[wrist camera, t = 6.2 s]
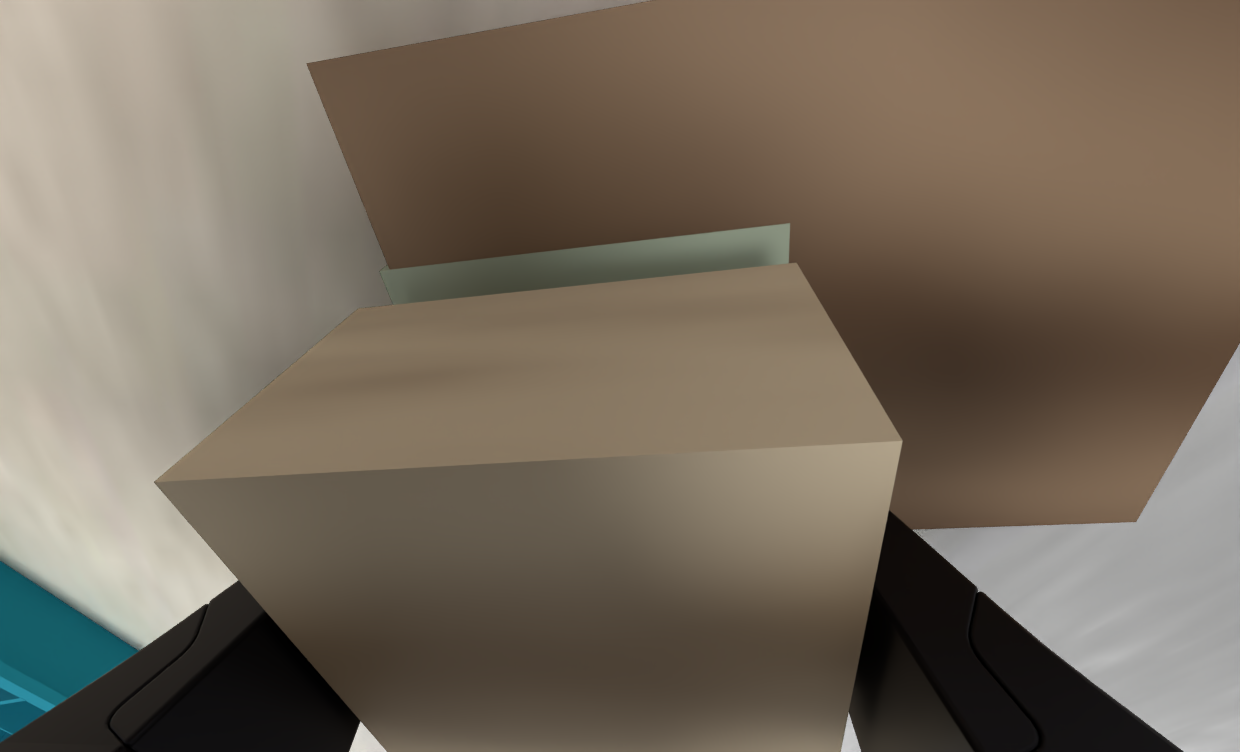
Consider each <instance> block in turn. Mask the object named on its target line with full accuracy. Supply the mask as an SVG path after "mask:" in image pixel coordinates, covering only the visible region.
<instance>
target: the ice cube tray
mask: <svg viewBox="0 0 1240 752" xmlns="http://www.w3.org/2000/svg"><path fill="white" fill-rule="evenodd" d="M137 652H138V650H136V649H135V648H133V647H132V646H130V645H129V644H127V643H125V642H124V641H122V640H121V639H119V638H118V637H116V636H115V635H113V634H112V633H110V632H109V631H107V630H106V629H104V628H102V627H101V626H99V625H98V624H96V623H95V622H93V621H92V620H90V619H89V618H87V617H86V616H84V615H82V614H81V613H79V612H78V611H76V610H75V609H73V608H72V607H70V606H69V605H67V604H66V603H64V602H63V601H61V600H59V599H58V598H56V597H55V596H53V595H52V594H50V593H49V592H47V591H46V590H44V589H43V588H41V587H40V586H38V585H36V584H35V583H33V582H32V581H30V580H29V579H27V578H26V577H24V576H23V575H21V574H20V573H18V572H16V571H15V570H13V569H12V568H10V567H9V566H7V565H6V564H4V563H3V562H1V561H0V742H2V741H3V740H5V739H6V738H8V737H9V736H11V735H12V734H14V733H15V732H17V731H18V730H20V729H22V728H23V727H25V726H26V725H28V724H29V723H31V722H32V721H34V720H35V719H37V718H38V717H40V716H41V715H43V714H44V713H46V712H47V711H49V710H51V709H52V708H54V707H55V706H57V705H58V704H60V703H61V702H63V701H64V700H66V699H67V698H69V697H70V696H72V695H73V694H75V693H77V692H78V691H80V690H81V689H83V688H84V687H86V686H87V685H89V684H90V683H92V682H93V681H95V680H96V679H98V678H99V677H101V676H102V675H104V674H105V673H107V672H108V671H110V670H111V669H113V668H114V667H116V666H117V665H119V664H120V663H122V662H123V661H125V660H126V659H128V658H129V657H131V656H132V655H134V654H135V653H137Z"/></svg>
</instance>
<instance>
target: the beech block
mask: <svg viewBox="0 0 1240 752" xmlns="http://www.w3.org/2000/svg"><path fill="white" fill-rule="evenodd" d="M902 442H903V441H902V439H901V437H900V436H899V434H898V432H897V431H896V429H895V427H894V426H893V424H892V422H891V420H890V419H889V417H888V415H887V414H886V412H885V410H884V409H883V407H882V405H881V404H880V402H879V400H878V399H877V397H876V395H875V394H874V392H873V390H872V389H871V387H870V385H869V384H868V382H867V380H866V378H865V377H864V375H863V373H862V372H861V370H860V368H859V367H858V365H857V363H856V362H855V360H854V358H853V357H852V355H851V353H850V352H849V350H848V348H847V347H846V345H845V343H844V342H843V340H842V338H841V336H840V335H839V333H838V331H837V330H836V328H835V326H834V325H833V323H832V321H831V320H830V318H829V316H828V315H827V313H826V311H825V310H824V308H823V306H822V305H821V303H820V301H819V299H818V298H817V296H816V294H815V293H814V291H813V289H812V288H811V286H810V284H809V283H808V281H807V279H806V278H805V276H804V274H803V273H802V271H801V269H800V268H799V266H798V264H797V263H788V264H779V265H769V266H760V267H750V268H741V269H731V270H721V271H712V272H702V273H693V274H683V275H674V276H664V277H655V278H645V279H636V280H626V281H617V282H607V283H597V284H588V285H578V286H569V287H559V288H550V289H540V290H531V291H521V292H512V293H502V294H493V295H483V296H473V297H464V298H454V299H445V300H435V301H426V302H416V303H407V304H397V305H388V306H378V307H368V308H359V309H357V310H356V311H355V312H354V313H352V314H351V315H350V316H349V317H348V318H346V319H345V320H344V321H343V322H342V323H341V324H339V325H338V326H337V327H336V328H335V329H334V330H332V331H331V332H330V333H329V334H328V335H326V336H325V337H324V338H323V339H322V340H321V341H319V342H318V343H317V344H316V345H315V346H314V347H312V348H311V349H310V350H309V351H308V352H306V353H305V354H304V355H303V356H302V357H301V358H299V359H298V360H297V361H296V362H295V363H293V364H292V365H291V366H290V367H289V368H288V369H286V370H285V371H284V372H283V373H282V374H281V375H279V376H278V377H277V378H276V379H275V380H273V381H272V382H271V383H270V384H269V385H268V386H266V387H265V388H264V389H263V390H262V391H261V392H259V393H258V394H257V395H256V396H255V397H253V398H252V399H251V400H250V401H249V402H248V403H246V404H245V405H244V406H243V407H242V408H241V409H239V410H238V411H237V412H236V413H235V414H233V415H232V416H231V417H230V418H229V419H228V420H226V421H225V422H224V423H223V424H222V425H221V426H219V427H218V428H217V429H216V430H215V431H213V432H212V433H211V434H210V435H209V436H208V437H206V438H205V439H204V440H203V441H202V442H201V443H199V444H198V445H197V446H196V447H195V448H193V449H192V450H191V451H190V452H189V453H188V454H186V455H185V456H184V457H183V458H182V459H181V460H179V461H178V462H177V463H176V464H175V465H173V466H172V467H171V468H170V469H169V470H168V471H166V472H165V473H164V474H163V475H162V476H160V477H159V478H158V479H157V480H156V481H155V482H154V483H155V484H156V485H157V486H158V487H159V489H160V490H161V491H162V492H163V493H164V494H165V496H166V497H167V498H168V499H169V500H170V501H171V503H172V504H173V505H174V506H175V507H176V508H177V509H178V511H179V512H180V513H181V514H182V515H183V516H184V518H185V519H186V520H187V521H188V522H189V523H190V524H191V526H192V527H193V528H194V529H195V530H196V531H197V533H198V534H199V535H200V536H201V537H202V538H203V539H204V541H205V542H206V543H207V544H208V545H209V546H210V548H211V549H212V550H213V551H214V552H215V553H216V555H217V556H218V557H219V558H220V559H221V560H222V561H223V563H224V564H225V565H226V566H227V567H228V568H229V570H230V571H231V572H232V573H233V574H234V575H235V576H236V578H237V579H238V580H239V581H240V582H241V583H242V585H243V586H244V587H245V588H246V589H247V590H248V591H249V593H250V594H251V595H252V596H253V597H254V598H255V600H256V601H257V602H258V603H259V604H260V605H261V606H262V608H263V609H264V610H265V611H266V612H267V613H268V615H269V616H270V617H271V618H272V619H273V620H274V622H275V623H276V624H277V625H278V626H279V627H280V628H281V630H282V631H283V632H284V633H285V634H286V635H287V637H288V638H289V639H290V640H291V641H292V642H293V643H294V645H295V646H296V647H297V648H298V649H299V650H300V652H301V653H302V654H303V655H304V656H305V657H306V658H307V660H308V661H309V662H310V663H311V664H312V665H313V667H314V668H315V669H316V670H317V671H318V672H319V674H320V675H321V676H322V677H323V678H324V679H325V680H326V682H327V683H328V684H329V685H330V686H331V687H332V689H333V690H334V691H335V692H336V693H337V694H338V695H339V697H340V698H341V699H342V700H343V701H344V702H345V704H346V705H347V706H348V707H349V708H350V709H351V710H352V712H353V713H354V714H355V715H356V716H357V717H358V719H359V720H360V721H361V722H362V723H363V724H364V726H365V727H366V728H367V729H368V730H369V731H370V732H371V734H372V735H373V736H374V737H375V738H376V739H377V741H378V742H379V743H380V744H381V745H382V746H383V747H384V749H385V750H386V751H387V752H841V747H842V742H843V737H844V732H845V727H846V722H847V717H848V712H849V707H850V702H851V697H852V692H853V687H854V682H855V677H856V672H857V667H858V662H859V657H860V652H861V647H862V642H863V637H864V632H865V627H866V622H867V617H868V612H869V607H870V602H871V597H872V592H873V587H874V582H875V577H876V572H877V567H878V562H879V557H880V552H881V547H882V542H883V537H884V532H885V527H886V522H887V517H888V512H889V507H890V502H891V497H892V492H893V487H894V482H895V477H896V472H897V467H898V462H899V457H900V452H901V447H902Z"/></svg>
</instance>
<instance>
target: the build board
mask: <svg viewBox="0 0 1240 752" xmlns="http://www.w3.org/2000/svg"><path fill="white" fill-rule="evenodd" d="M307 66H308V69H309V71H310V74H311V76H312V79H313V81H314V83H315V86H316V88H317V91H318V93H319V96H320V98H321V101H322V103H323V106H324V108H325V111H326V113H327V116H328V118H329V121H330V123H331V126H332V128H333V131H334V133H335V136H336V138H337V140H338V143H339V145H340V148H341V150H342V153H343V155H344V158H345V160H346V163H347V165H348V168H349V170H350V173H351V175H352V178H353V180H354V183H355V185H356V188H357V190H358V193H359V195H360V197H361V200H362V202H363V205H364V207H365V210H366V212H367V215H368V217H369V220H370V222H371V225H372V227H373V230H374V232H375V235H376V237H377V240H378V242H379V245H380V247H381V250H382V252H383V254H384V257H385V259H386V262H387V264H388V265H387V266H385V267H384V268H383V269H381V270H380V271H379V272H380V274H381V277H382V279H383V282H384V284H385V286H386V289H387V291H388V294H389V296H390V298H391V301H392V303H393V305H397V304H407V303H416V302H426V301H435V300H445V299H454V298H464V297H473V296H483V295H493V294H502V293H512V292H521V291H531V290H540V289H550V288H559V287H569V286H578V285H588V284H597V283H607V282H617V281H626V280H636V279H645V278H655V277H664V276H674V275H683V274H693V273H702V272H712V271H721V270H731V269H741V268H750V267H760V266H769V265H779V264H788V263H797V264H798V266H799V268H800V269H801V271H802V273H803V274H804V276H805V278H806V279H807V281H808V283H809V284H810V286H811V288H812V289H813V291H814V293H815V294H816V296H817V298H818V299H819V301H820V303H821V305H822V306H823V308H824V310H825V311H826V313H827V315H828V316H829V318H830V320H831V321H832V323H833V325H834V326H835V328H836V330H837V331H838V333H839V335H840V336H841V338H842V340H843V342H844V343H845V345H846V347H847V348H848V350H849V352H850V353H851V355H852V357H853V358H854V360H855V362H856V363H857V365H858V367H859V368H860V370H861V372H862V373H863V375H864V377H865V378H866V380H867V382H868V384H869V385H870V387H871V389H872V390H873V392H874V394H875V395H876V397H877V399H878V400H879V402H880V404H881V405H882V407H883V409H884V410H885V412H886V414H887V415H888V417H889V419H890V420H891V422H892V424H893V426H894V427H895V429H896V431H897V432H898V434H899V436H900V437H901V439H902V441H903V442H902V447H901V452H900V457H899V462H898V467H897V472H896V477H895V482H894V487H893V492H892V497H891V502H890V507H889V510H890V511H891V512H892V513H893V514H895V515H896V516H897V517H898V518H899V519H900V520H901V521H903V522H904V523H905V524H906V525H907V526H908V527H909V528H910V529H941V528H971V527H1000V526H1030V525H1060V524H1089V523H1119V522H1136V521H1137V519H1138V518H1139V516H1140V514H1141V512H1142V511H1143V509H1144V507H1145V505H1146V504H1147V502H1148V500H1149V499H1150V497H1151V495H1152V493H1153V492H1154V490H1155V488H1156V486H1157V485H1158V483H1159V481H1160V480H1161V478H1162V476H1163V474H1164V473H1165V471H1166V469H1167V468H1168V466H1169V464H1170V462H1171V461H1172V459H1173V457H1174V455H1175V454H1176V452H1177V450H1178V449H1179V447H1180V445H1181V443H1182V442H1183V440H1184V438H1185V437H1186V435H1187V433H1188V431H1189V430H1190V428H1191V426H1192V424H1193V423H1194V421H1195V419H1196V418H1197V416H1198V414H1199V412H1200V411H1201V409H1202V407H1203V406H1204V404H1205V402H1206V400H1207V399H1208V397H1209V395H1210V393H1211V392H1212V390H1213V388H1214V387H1215V385H1216V383H1217V381H1218V380H1219V378H1220V376H1221V375H1222V373H1223V371H1224V369H1225V368H1226V366H1227V364H1228V362H1229V361H1230V359H1231V357H1232V356H1233V354H1234V352H1235V350H1236V349H1237V347H1238V345H1239V344H1240V0H652V1H647V2H641V3H636V4H630V5H625V6H619V7H614V8H608V9H603V10H597V11H592V12H586V13H581V14H575V15H570V16H564V17H559V18H553V19H548V20H542V21H537V22H532V23H526V24H521V25H515V26H510V27H504V28H499V29H493V30H488V31H482V32H477V33H471V34H466V35H460V36H455V37H449V38H444V39H438V40H433V41H427V42H422V43H416V44H411V45H406V46H400V47H395V48H389V49H384V50H378V51H373V52H367V53H362V54H356V55H351V56H345V57H340V58H334V59H329V60H323V61H318V62H312V63H307Z"/></svg>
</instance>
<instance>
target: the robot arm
mask: <svg viewBox="0 0 1240 752" xmlns="http://www.w3.org/2000/svg"><path fill="white" fill-rule="evenodd" d="M977 592H978V588H977V587H976V586H975V585H974V584H973V583H972V582H971V581H969V580H968V579H967V578H966V577H965V576H964V575H963V574H961V573H960V572H959V571H958V570H957V569H956V568H955V567H954V566H952V565H951V564H950V563H949V562H948V561H947V560H946V559H944V558H943V557H942V556H941V555H940V554H939V553H938V552H937V551H935V550H934V549H933V548H932V547H931V546H930V545H929V544H927V543H926V542H925V541H924V540H923V539H922V538H921V537H920V536H918V535H917V534H916V533H915V532H914V531H913V530H912V529H910V528H909V527H908V526H907V525H906V524H905V523H904V522H903V521H901V520H900V519H899V518H898V517H897V516H896V515H895V514H893V513H892V512H891V511H890V510H889V512H888V517H887V522H886V527H885V532H884V537H883V542H882V547H881V552H880V557H879V562H878V567H877V572H876V577H875V582H874V587H873V592H872V597H871V602H870V607H869V612H868V617H867V622H866V627H865V632H864V637H863V642H862V647H861V652H860V657H859V662H858V667H857V672H856V677H855V682H854V687H853V692H852V697H851V702H850V707H849V714H850V717H851V721H852V724H853V727H854V730H855V733H856V736H857V739H858V742H859V746H860V749H861V752H1183V751H1182V750H1181V749H1180V748H1178V747H1177V746H1176V745H1174V744H1173V743H1172V742H1170V741H1169V740H1168V739H1166V738H1165V737H1164V736H1162V735H1161V734H1160V733H1158V732H1157V731H1156V730H1154V729H1153V728H1152V727H1150V726H1149V725H1148V724H1146V723H1145V722H1144V721H1143V720H1141V719H1140V718H1139V717H1137V716H1136V715H1135V714H1133V713H1132V712H1131V711H1129V710H1128V709H1127V708H1125V707H1124V706H1123V705H1121V704H1120V703H1119V702H1117V701H1116V700H1115V699H1113V698H1112V697H1111V696H1109V695H1108V694H1107V693H1106V692H1104V691H1103V690H1102V689H1100V688H1099V687H1098V686H1096V685H1095V684H1094V683H1092V682H1091V681H1090V680H1088V679H1087V678H1086V677H1085V676H1083V675H1082V674H1081V673H1080V672H1078V671H1077V670H1076V669H1074V668H1073V667H1072V666H1071V665H1069V664H1068V663H1067V662H1065V661H1064V660H1063V659H1062V658H1060V657H1059V656H1058V655H1057V654H1055V653H1054V652H1053V651H1051V650H1050V649H1049V648H1048V647H1046V646H1045V645H1044V644H1043V643H1041V642H1040V641H1039V640H1038V639H1037V638H1036V637H1034V636H1033V635H1032V634H1031V633H1030V632H1028V631H1027V630H1026V629H1025V628H1024V627H1023V626H1021V625H1020V624H1019V623H1018V622H1017V621H1015V620H1014V619H1013V618H1012V617H1011V616H1010V615H1008V614H1007V613H1006V612H1005V611H1004V610H1003V609H1001V608H1000V607H999V606H998V605H997V604H996V603H995V602H994V601H992V600H991V599H990V598H989V597H988V596H987V595H986V594H984V593H983V592H978V593H977ZM359 724H360V720H359V719H358V717H357V716H356V715H355V714H354V713H353V712H352V710H351V709H350V708H349V707H348V706H347V705H346V704H345V702H344V701H343V700H342V699H341V698H340V697H339V695H338V694H337V693H336V692H335V691H334V690H333V689H332V687H331V686H330V685H329V684H328V683H327V682H326V680H325V679H324V678H323V677H322V676H321V675H320V674H319V672H318V671H317V670H316V669H315V668H314V667H313V665H312V664H311V663H310V662H309V661H308V660H307V658H306V657H305V656H304V655H303V654H302V653H301V652H300V650H299V649H298V648H297V647H296V646H295V645H294V643H293V642H292V641H291V640H290V639H289V638H288V637H287V635H286V634H285V633H284V632H283V631H282V630H281V628H280V627H279V626H278V625H277V624H276V623H275V622H274V620H273V619H272V618H271V617H270V616H269V615H268V613H267V612H266V611H265V610H264V609H263V608H262V606H261V605H260V604H259V603H258V602H257V601H256V600H255V598H254V597H253V596H252V595H251V594H250V593H249V591H248V590H247V589H246V588H245V587H244V586H243V585H242V583H241V582H240V581H239V580H238V581H237V582H236V583H234V584H233V585H231V586H230V587H229V588H227V589H226V590H224V591H223V592H222V593H220V594H219V595H218V596H216V597H215V598H213V599H212V600H211V601H210V603H209V604H205V605H203V606H202V607H201V608H199V609H198V610H197V611H195V612H194V613H192V614H191V615H190V616H188V617H187V618H186V619H184V620H183V621H181V622H180V623H179V624H177V625H176V626H174V627H173V628H172V629H170V630H169V631H167V632H166V633H164V634H163V635H162V636H160V637H159V638H157V639H156V640H154V641H153V642H152V643H150V644H149V645H147V646H146V647H144V648H143V649H141V650H140V651H138V652H137V653H135V654H134V655H132V656H131V657H129V658H128V659H126V660H125V661H123V662H122V663H120V664H119V665H117V666H116V667H114V668H113V669H111V670H110V671H108V672H107V673H105V674H104V675H102V676H101V677H99V678H98V679H96V680H95V681H93V682H92V683H90V684H89V685H87V686H86V687H84V688H83V689H81V690H80V691H78V692H77V693H75V694H73V695H72V696H70V697H69V698H67V699H66V700H64V701H63V702H61V703H60V704H58V705H57V706H55V707H54V708H52V709H51V710H49V711H47V712H46V713H44V714H43V715H41V716H40V717H38V718H37V719H35V720H34V721H32V722H31V723H29V724H28V725H26V726H25V727H23V728H22V729H20V730H18V731H17V732H15V733H14V734H12V735H11V736H9V737H8V738H6V739H5V740H3V741H2V742H0V752H349V750H350V748H351V745H352V742H353V740H354V737H355V734H356V732H357V729H358V726H359Z"/></svg>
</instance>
